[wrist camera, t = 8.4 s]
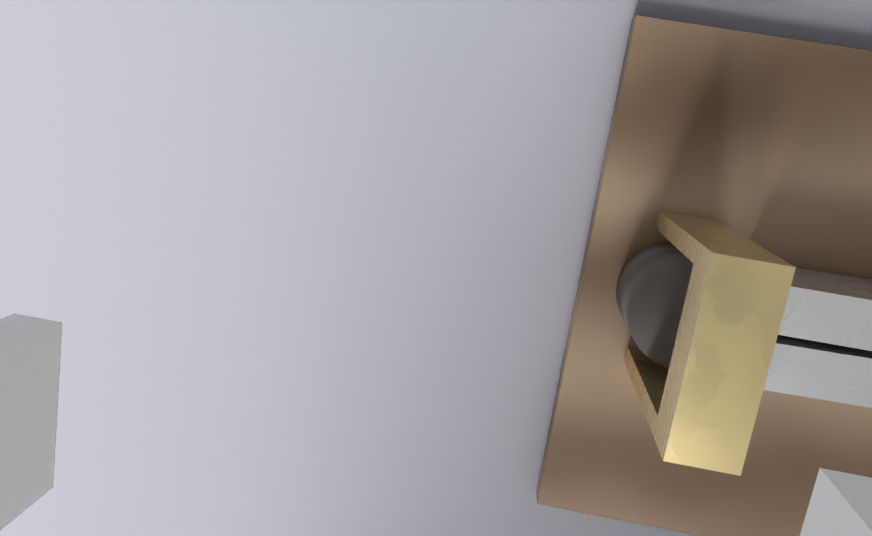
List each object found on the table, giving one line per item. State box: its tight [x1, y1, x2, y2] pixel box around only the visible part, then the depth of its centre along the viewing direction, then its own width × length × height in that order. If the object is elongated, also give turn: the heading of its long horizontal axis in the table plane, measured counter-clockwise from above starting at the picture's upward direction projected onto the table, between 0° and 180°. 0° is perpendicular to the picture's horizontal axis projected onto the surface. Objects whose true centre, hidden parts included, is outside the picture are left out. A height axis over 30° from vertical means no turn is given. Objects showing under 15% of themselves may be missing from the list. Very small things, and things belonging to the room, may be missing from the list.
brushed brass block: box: [624, 210, 796, 476], centre depth 24 cm, size 6×2×8 cm, turn 172°
